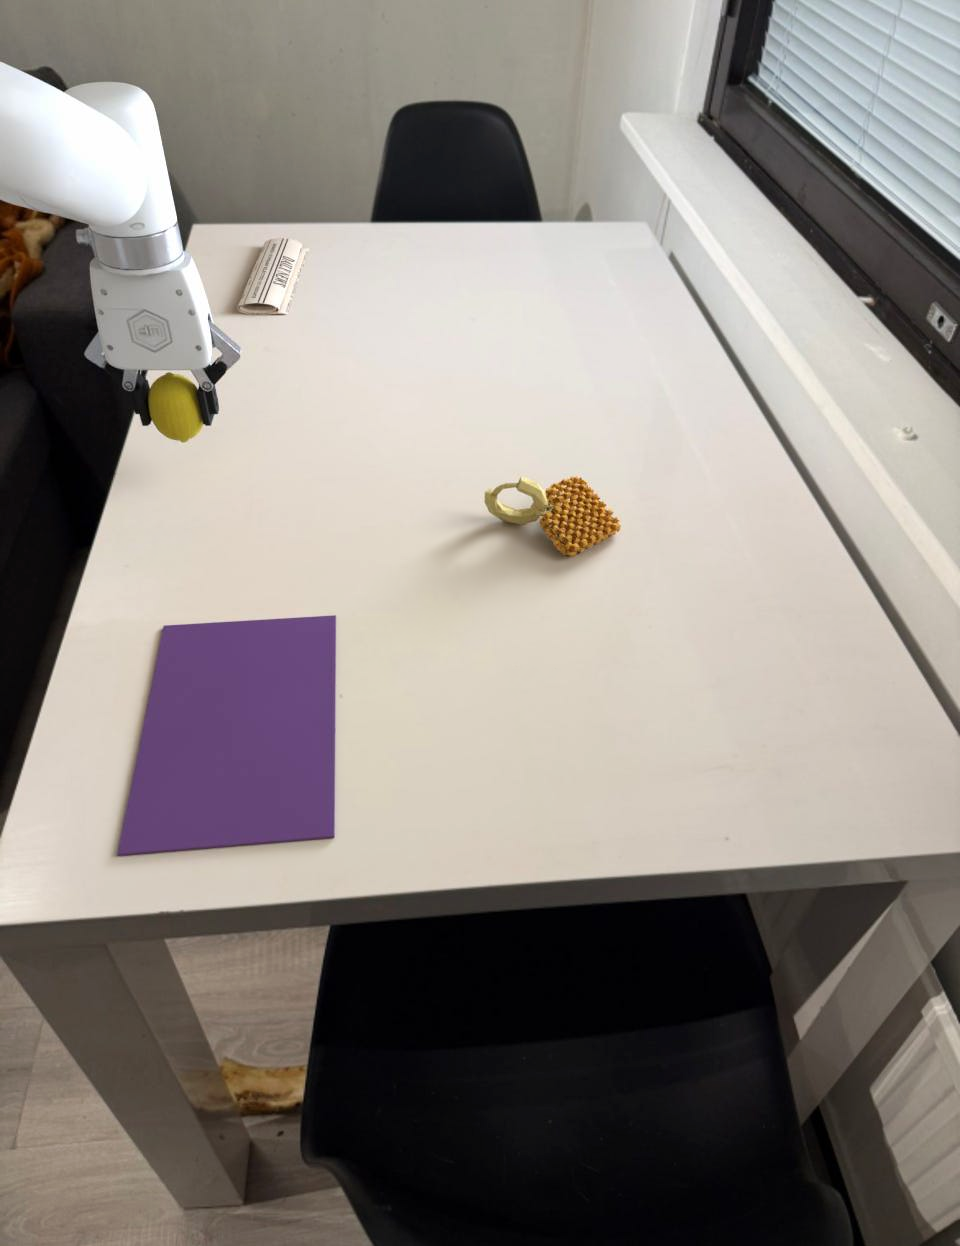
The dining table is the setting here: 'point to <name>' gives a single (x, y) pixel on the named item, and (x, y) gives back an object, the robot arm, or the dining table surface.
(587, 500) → the ornament
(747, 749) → the dining table surface
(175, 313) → the robot arm
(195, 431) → the lemon
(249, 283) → the newspaper
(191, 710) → the cloth
